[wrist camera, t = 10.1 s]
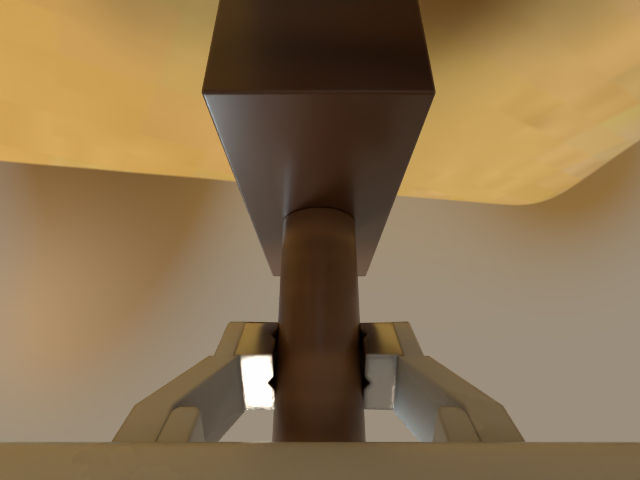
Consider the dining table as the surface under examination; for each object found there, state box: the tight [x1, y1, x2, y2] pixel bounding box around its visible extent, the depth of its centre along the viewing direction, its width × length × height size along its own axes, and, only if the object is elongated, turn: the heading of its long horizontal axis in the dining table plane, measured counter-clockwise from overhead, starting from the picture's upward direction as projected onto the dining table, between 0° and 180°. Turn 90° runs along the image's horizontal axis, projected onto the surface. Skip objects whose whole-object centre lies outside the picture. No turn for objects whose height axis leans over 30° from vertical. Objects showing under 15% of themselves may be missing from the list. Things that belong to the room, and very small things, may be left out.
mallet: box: [202, 0, 436, 442], centre depth 10 cm, size 11×4×12 cm, turn 0°
